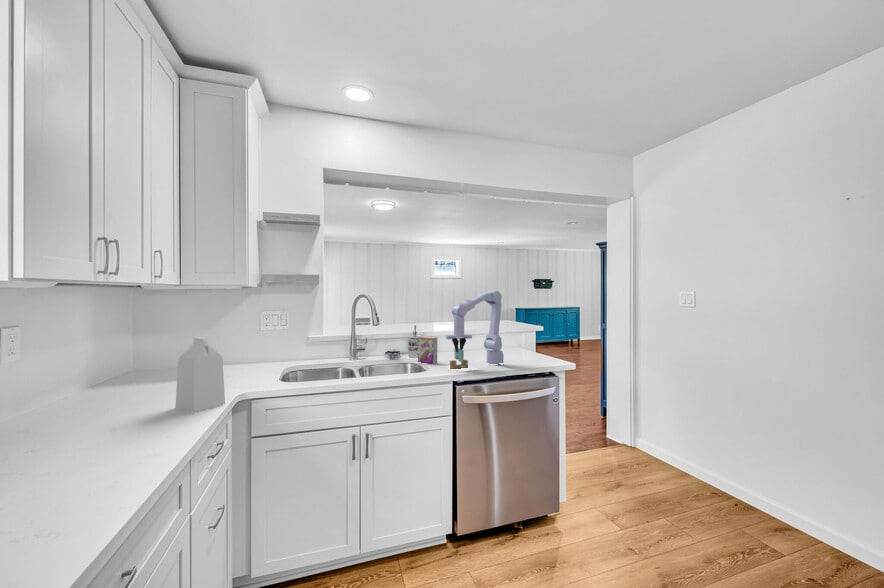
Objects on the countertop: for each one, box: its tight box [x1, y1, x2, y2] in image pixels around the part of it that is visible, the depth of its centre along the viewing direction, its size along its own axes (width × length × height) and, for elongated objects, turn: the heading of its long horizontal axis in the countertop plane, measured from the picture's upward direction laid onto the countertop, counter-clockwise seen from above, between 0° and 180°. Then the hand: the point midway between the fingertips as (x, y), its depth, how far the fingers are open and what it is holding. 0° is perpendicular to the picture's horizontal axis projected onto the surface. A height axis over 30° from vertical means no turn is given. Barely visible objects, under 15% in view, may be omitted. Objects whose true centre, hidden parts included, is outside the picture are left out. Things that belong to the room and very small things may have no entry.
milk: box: [174, 337, 226, 414], centre depth 142 cm, size 12×12×26 cm
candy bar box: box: [417, 335, 438, 365], centre depth 224 cm, size 11×5×16 cm, turn 58°
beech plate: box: [449, 359, 469, 369], centre depth 206 cm, size 10×2×5 cm, turn 107°
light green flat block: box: [453, 347, 465, 363], centre depth 206 cm, size 2×10×6 cm, turn 17°
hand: (458, 352), depth 206 cm, fingers closed on light green flat block, 2 cm apart
